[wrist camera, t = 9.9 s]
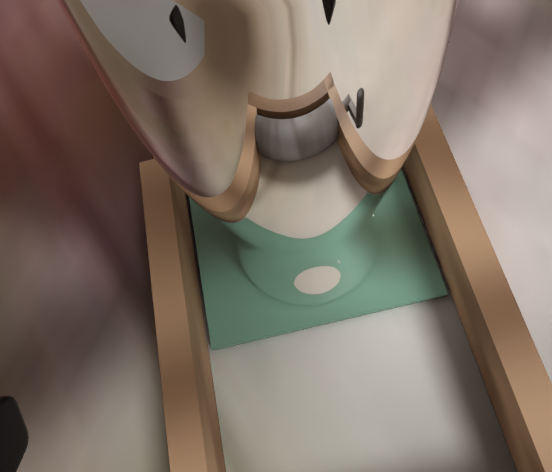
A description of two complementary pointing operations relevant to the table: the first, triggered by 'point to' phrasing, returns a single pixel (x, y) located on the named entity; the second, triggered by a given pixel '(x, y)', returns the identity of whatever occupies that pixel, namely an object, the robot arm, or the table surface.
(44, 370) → the table surface
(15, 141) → the table surface
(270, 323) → the wooden roller tray
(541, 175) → the table surface
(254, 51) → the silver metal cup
